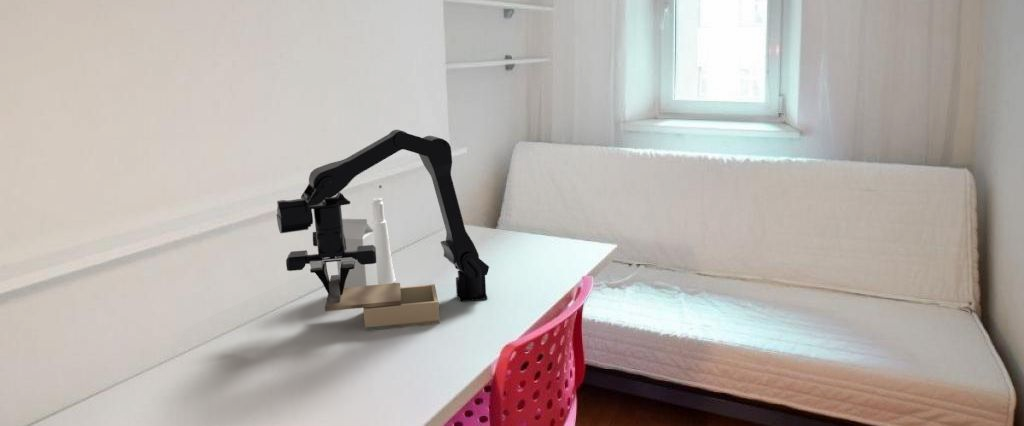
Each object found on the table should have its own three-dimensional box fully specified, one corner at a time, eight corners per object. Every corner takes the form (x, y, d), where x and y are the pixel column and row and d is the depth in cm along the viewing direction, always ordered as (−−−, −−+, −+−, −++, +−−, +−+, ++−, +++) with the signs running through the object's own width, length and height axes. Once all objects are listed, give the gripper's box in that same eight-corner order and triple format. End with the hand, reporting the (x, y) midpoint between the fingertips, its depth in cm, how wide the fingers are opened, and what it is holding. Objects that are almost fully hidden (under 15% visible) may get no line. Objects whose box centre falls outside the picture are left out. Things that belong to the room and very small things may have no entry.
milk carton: (367, 298, 175) (360, 222, 170) (340, 297, 176) (332, 222, 172) (378, 288, 181) (372, 215, 177) (352, 287, 183) (345, 215, 178)
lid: (400, 286, 167) (398, 266, 165) (401, 304, 155) (399, 283, 154) (329, 292, 164) (327, 272, 163) (325, 311, 153) (323, 289, 151)
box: (435, 304, 169) (434, 284, 168) (439, 323, 158) (438, 301, 156) (366, 310, 167) (364, 290, 165) (365, 330, 155) (363, 309, 154)
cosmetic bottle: (381, 276, 190) (374, 195, 185) (400, 279, 188) (394, 197, 183) (367, 284, 185) (360, 200, 180) (387, 286, 182) (380, 202, 177)
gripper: (373, 214, 164) (379, 279, 167) (289, 220, 161) (296, 286, 165) (373, 226, 153) (379, 295, 157) (282, 233, 150) (290, 303, 154)
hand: (336, 294), depth 158 cm, fingers closed on lid, 2 cm apart
